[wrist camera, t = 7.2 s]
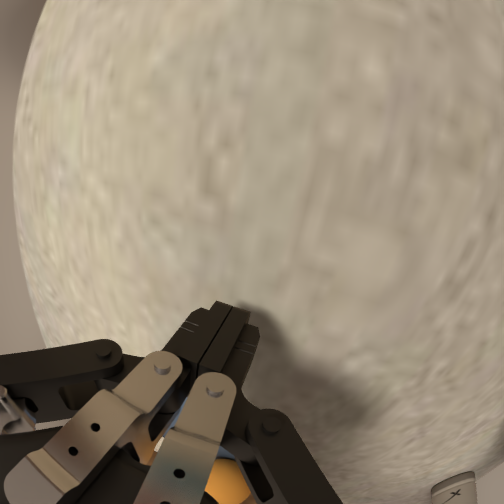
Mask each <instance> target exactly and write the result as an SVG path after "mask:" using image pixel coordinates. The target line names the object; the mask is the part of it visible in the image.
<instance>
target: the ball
mask: <svg viewBox="0 0 504 504" xmlns="http://www.w3.org/2000/svg"><path fill="white" fill-rule="evenodd" d="M205 491H206V492H207V493H208V494H210V495H211V496H212V497H213V498H214V499H215V500H216V501H217V502H218V503H219V504H240V503H242V502H243V501H244V500H246V499H247V498H248V496H249V495H250V493H251V491H250V489H249V487H248V485H247V483H246V481H245V479H244V477H243V475H242V473H241V471H240V469H239V467H238V464H237V462H236V461H233V460H230V459H215V461H214V464H213V467H212V470H211V473H210V476H209V479H208V482H207V485H206V488H205Z"/></svg>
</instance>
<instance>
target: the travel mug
mask: <svg viewBox="0 0 504 504" xmlns="http://www.w3.org/2000/svg"><path fill="white" fill-rule="evenodd" d="M432 498H433V499H432V504H477V492H476V483H475V474H474V472H466V473H462V474H459V475H456V476H454V477H451V478H449V479H447V480H445V481H442V482H441V483H439V484H437V485H436V486H434V487H433V488H432Z"/></svg>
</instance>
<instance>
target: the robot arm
mask: <svg viewBox="0 0 504 504" xmlns="http://www.w3.org/2000/svg"><path fill="white" fill-rule="evenodd" d="M249 317H250V312H249V311H246V310H243V309H240V308H237V307H233V306H231V305H228V304H225V303H222V302H219V301H216V302H215V303H214V304H213V306H212V307H211V309H210V310H207V309H204V308H199V309H197V310H195V311H193V312H192V313H191V314H190V315H189V316H188V318H187V319H186V320H185V322H184V323H183V324H182V325H181V327H180V328H179V329H178V330H177V332H176V333H175V334H174V335H173V337H172V338H171V339H170V340H169V342H168V343H167V344H166V345H165V347H164V348H163V349H162V350H161V351H155V352H152V353H150V354H148V355H147V356H146V357H137V356H132V355H127V354H122V349H121V347H120V346H119V345H118V344H117V343H116V342H114V341H112V340H109V339H99V340H94V341H89V342H84V343H78V344H72V345H67V346H61V347H55V348H48V349H42V350H36V351H28V352H21V353H14V354H6V355H0V504H219V503H218V502H217V501H216V500H215V499H214V498H213V497H212V496H211V495H210V494H208V493H207V492H206V491H205V488H206V485H207V482H208V479H209V476H210V473H211V470H212V467H213V464H214V461H215V458H216V455H217V452H218V449H219V446H221V447H223V448H224V449H225V450H227V451H228V452H230V453H231V454H232V455H234V457H235V460H236V462H237V464H238V467H239V469H240V471H241V473H242V475H243V477H244V479H245V481H246V483H247V485H248V487H249V489H250V491H251V493H252V495H253V497H254V499H255V501H256V503H257V504H343V503H342V501H341V500H340V499H339V497H338V496H337V494H336V493H335V491H334V490H333V488H332V487H331V485H330V484H329V482H328V481H327V479H326V477H325V476H324V474H323V473H322V471H321V470H320V468H319V467H318V465H317V463H316V462H315V460H314V459H313V457H312V455H311V454H310V452H309V451H308V449H307V447H306V446H305V444H304V443H303V441H302V439H301V438H300V436H299V434H298V433H297V431H296V429H295V428H294V426H293V424H292V423H291V421H290V419H289V418H288V417H287V416H286V415H285V414H283V413H282V412H280V411H278V410H274V409H262V410H260V409H258V408H257V407H255V406H254V405H252V404H251V403H250V402H248V401H247V400H246V398H245V397H244V395H243V393H242V390H241V388H242V385H243V383H244V380H245V378H246V375H247V373H248V370H249V368H250V365H251V363H252V360H253V357H254V354H255V351H256V348H257V344H258V341H259V338H260V335H259V330H258V327H255V326H252V325H249V324H248V321H249ZM186 397H188V398H187V400H186V402H185V404H184V407H183V409H182V411H181V413H180V415H179V417H178V420H177V422H176V424H175V425H174V427H171V428H170V429H169V431H168V432H167V434H166V436H165V438H164V440H163V442H162V444H161V446H160V448H159V451H158V453H157V455H156V457H155V459H154V461H153V463H152V465H151V466H149V465H146V464H147V463H148V461H149V460H150V458H151V456H152V454H153V452H154V448H155V446H156V444H157V443H158V441H159V440H160V439H161V437H162V436H163V435H164V433H165V432H166V430H167V429H168V428H169V426H170V425H171V423H172V422H173V421H174V419H175V418H176V416H177V415H178V414H179V412H180V410H181V406H182V404H183V402H184V401H185V399H186ZM69 418H71V419H70V420H69V421H68V422H67V423H66V424H65V425H64V426H59V427H54V428H48V429H42V430H36V431H35V429H36V428H35V424H36V423H43V422H50V421H57V420H62V419H69Z"/></svg>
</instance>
